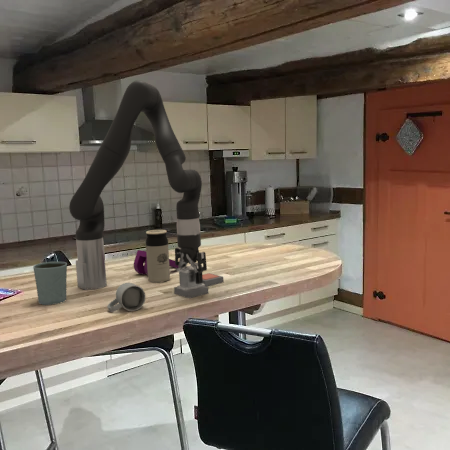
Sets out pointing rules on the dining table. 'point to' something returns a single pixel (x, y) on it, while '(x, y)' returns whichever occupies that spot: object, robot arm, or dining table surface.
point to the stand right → (211, 279)
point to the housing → (188, 278)
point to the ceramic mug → (128, 298)
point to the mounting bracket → (142, 258)
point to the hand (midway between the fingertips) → (191, 281)
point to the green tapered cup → (51, 282)
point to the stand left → (191, 292)
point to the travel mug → (157, 256)
